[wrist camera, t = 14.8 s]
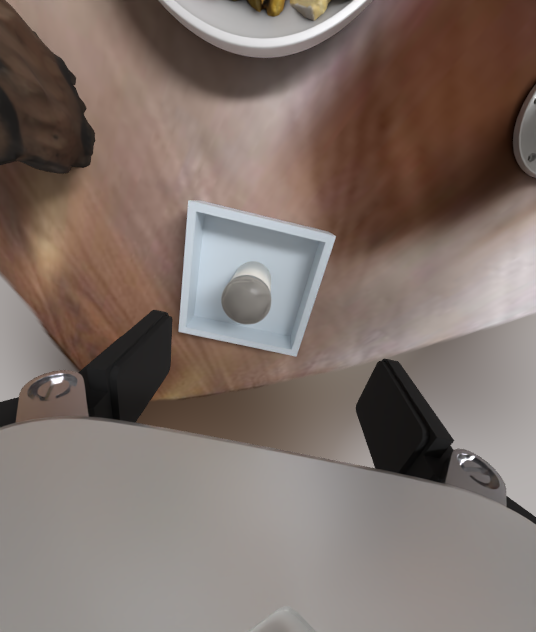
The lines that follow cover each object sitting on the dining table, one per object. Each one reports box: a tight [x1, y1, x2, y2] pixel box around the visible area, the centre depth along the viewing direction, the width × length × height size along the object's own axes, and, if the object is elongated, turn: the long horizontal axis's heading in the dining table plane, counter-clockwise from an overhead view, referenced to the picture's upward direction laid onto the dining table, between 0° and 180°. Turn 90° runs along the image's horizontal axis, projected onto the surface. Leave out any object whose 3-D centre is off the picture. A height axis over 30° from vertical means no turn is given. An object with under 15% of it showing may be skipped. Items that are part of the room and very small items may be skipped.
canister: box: [221, 261, 272, 324], centre depth 32 cm, size 6×6×9 cm
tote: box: [179, 200, 336, 356], centre depth 35 cm, size 18×18×5 cm
